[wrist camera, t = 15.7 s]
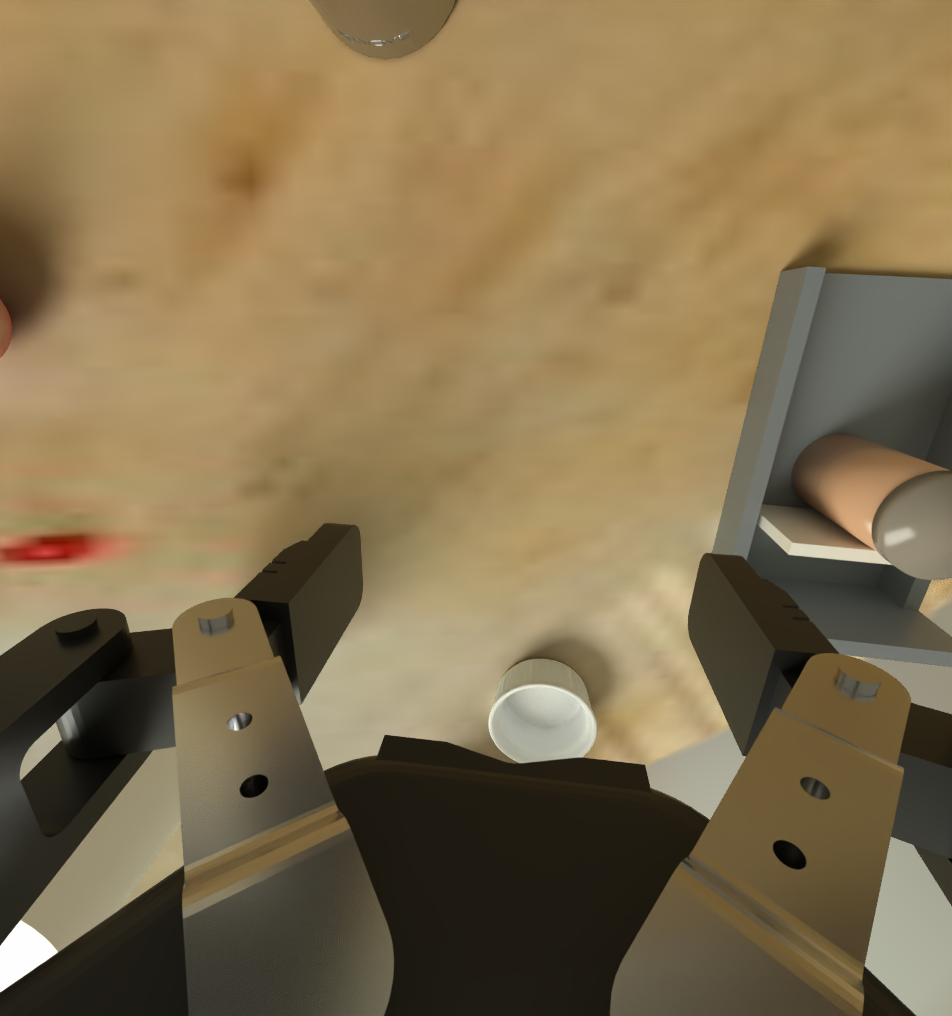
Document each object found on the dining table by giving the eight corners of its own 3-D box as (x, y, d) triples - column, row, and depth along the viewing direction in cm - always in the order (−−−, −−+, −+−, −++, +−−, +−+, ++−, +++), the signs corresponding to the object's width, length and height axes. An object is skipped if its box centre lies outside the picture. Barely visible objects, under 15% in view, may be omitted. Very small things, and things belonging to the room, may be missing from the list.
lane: (780, 271, 32) (858, 257, 24) (1004, 282, 31) (1161, 271, 23) (705, 579, 40) (746, 643, 32) (882, 597, 39) (968, 668, 31)
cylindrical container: (267, 684, 49) (22, 1014, 26) (211, 633, 48) (-100, 933, 25) (315, 648, 47) (95, 971, 24) (258, 593, 46) (-35, 880, 22)
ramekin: (610, 710, 46) (616, 748, 42) (524, 744, 48) (523, 783, 44) (561, 635, 44) (563, 668, 40) (474, 675, 46) (467, 709, 42)
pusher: (748, 502, 37) (792, 542, 31) (898, 516, 36) (977, 560, 30) (745, 513, 37) (788, 554, 31) (894, 526, 36) (971, 572, 30)
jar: (801, 429, 35) (907, 473, 25) (888, 434, 34) (1031, 481, 25) (781, 506, 37) (871, 575, 27) (863, 512, 36) (985, 584, 27)
